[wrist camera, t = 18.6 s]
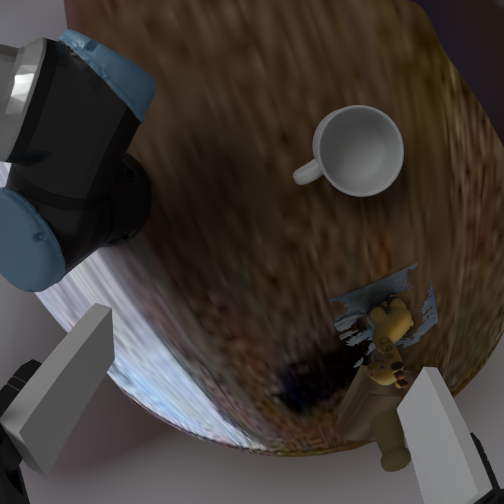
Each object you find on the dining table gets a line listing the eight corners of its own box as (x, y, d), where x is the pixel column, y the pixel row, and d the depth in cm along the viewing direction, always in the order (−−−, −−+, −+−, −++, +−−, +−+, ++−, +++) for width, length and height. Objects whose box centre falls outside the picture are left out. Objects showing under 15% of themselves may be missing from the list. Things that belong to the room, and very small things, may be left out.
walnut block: (336, 410, 59) (341, 439, 52) (361, 365, 54) (369, 395, 47) (390, 413, 59) (398, 440, 52) (417, 370, 54) (430, 398, 47)
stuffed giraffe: (324, 300, 50) (345, 369, 35) (424, 256, 47) (475, 307, 32) (351, 365, 55) (370, 431, 41) (436, 327, 52) (474, 383, 37)
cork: (365, 418, 49) (376, 467, 39) (397, 405, 48) (412, 453, 37) (374, 433, 51) (384, 479, 41) (403, 421, 49) (417, 466, 39)
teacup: (373, 102, 38) (392, 97, 31) (391, 176, 42) (413, 186, 34) (276, 125, 41) (277, 124, 33) (299, 200, 44) (304, 215, 37)
